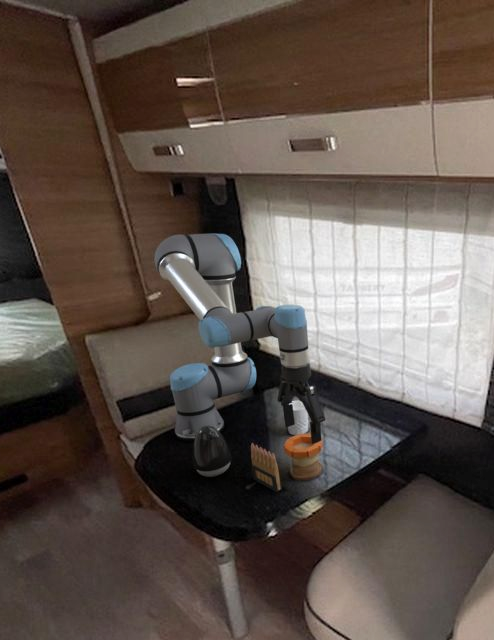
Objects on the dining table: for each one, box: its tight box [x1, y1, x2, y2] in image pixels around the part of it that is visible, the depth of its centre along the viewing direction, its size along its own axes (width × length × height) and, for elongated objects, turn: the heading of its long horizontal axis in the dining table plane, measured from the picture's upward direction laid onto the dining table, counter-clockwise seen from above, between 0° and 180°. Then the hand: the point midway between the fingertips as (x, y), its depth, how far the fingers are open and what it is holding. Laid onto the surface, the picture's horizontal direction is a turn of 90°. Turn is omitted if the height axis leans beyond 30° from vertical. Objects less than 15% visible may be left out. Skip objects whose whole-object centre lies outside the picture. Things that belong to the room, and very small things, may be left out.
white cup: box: [287, 399, 309, 436], centre depth 145 cm, size 8×8×10 cm
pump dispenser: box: [192, 425, 232, 478], centre depth 121 cm, size 10×10×15 cm
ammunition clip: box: [250, 442, 283, 493], centre depth 117 cm, size 11×2×12 cm, turn 56°
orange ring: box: [283, 433, 324, 459], centre depth 121 cm, size 10×10×2 cm
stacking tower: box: [289, 443, 323, 482], centre depth 123 cm, size 9×9×8 cm
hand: (302, 433), depth 120 cm, fingers open, 13 cm apart
